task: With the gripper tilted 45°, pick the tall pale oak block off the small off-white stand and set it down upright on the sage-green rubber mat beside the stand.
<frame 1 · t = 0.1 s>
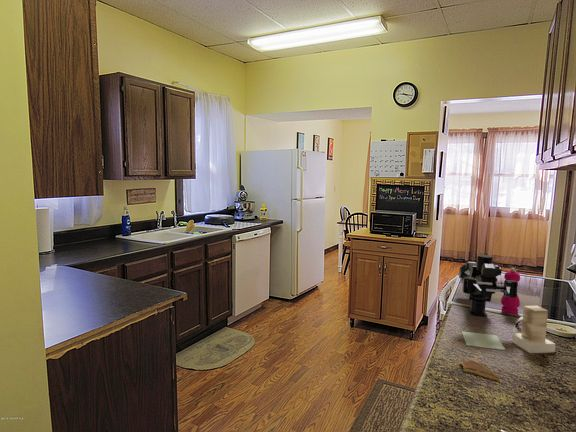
hand: (494, 293, 137), 17 cm above the countertop, tool horizontal, fingers open, 9 cm apart
oak block: (533, 338, 131), point 3 cm above the countertop, touching stand
mat: (482, 340, 136), on the countertop
pepper mill: (509, 312, 165), on the countertop
shard: (480, 372, 115), on the countertop
stand: (532, 346, 131), on the countertop
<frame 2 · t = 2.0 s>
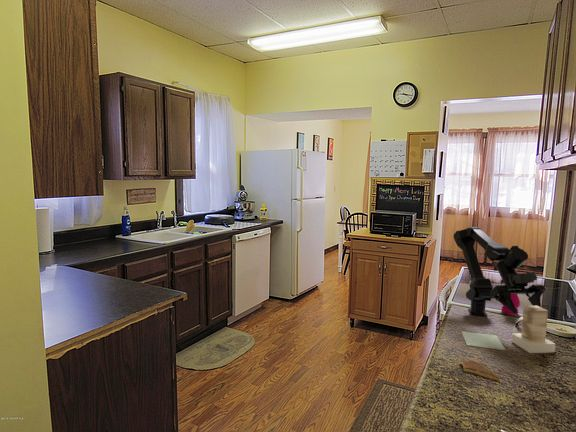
hand: (528, 313, 133), 11 cm above the countertop, tool tilted 45°, fingers open, 9 cm apart
nothing on the countertop moved.
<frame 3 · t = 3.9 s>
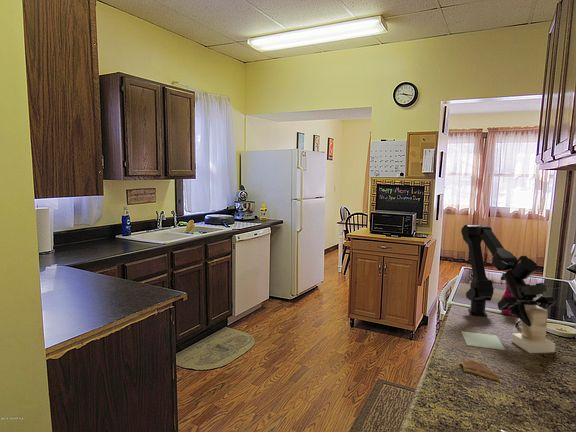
hand: (537, 325, 129), 8 cm above the countertop, tool tilted 45°, fingers closed on oak block, 5 cm apart
oak block: (533, 338, 131), point 3 cm above the countertop, touching gripper, stand
everything else where it was.
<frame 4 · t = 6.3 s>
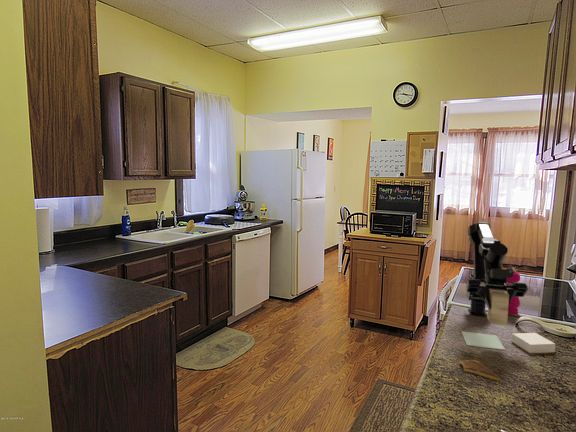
hand: (498, 309, 129), 13 cm above the countertop, tool tilted 45°, fingers closed on oak block, 5 cm apart
oak block: (496, 322, 131), point 8 cm above the countertop, touching gripper
everything else where it was.
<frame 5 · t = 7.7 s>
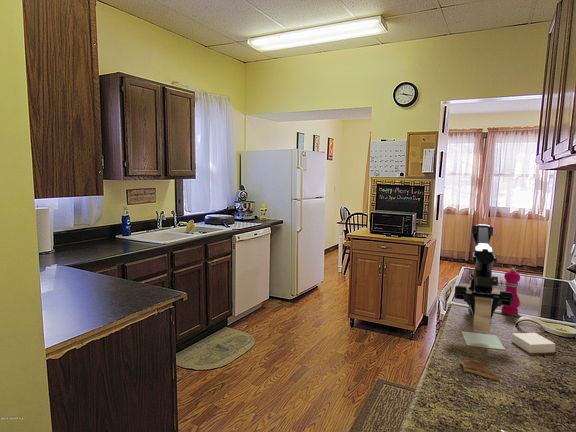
hand: (482, 316, 132), 10 cm above the countertop, tool tilted 45°, fingers closed on oak block, 5 cm apart
oak block: (481, 329, 133), point 5 cm above the countertop, touching gripper
everything else where it was.
when the fingers open (7 cm above the countertop, at t = 8.8 s): oak block drops 1 cm, resting on mat.
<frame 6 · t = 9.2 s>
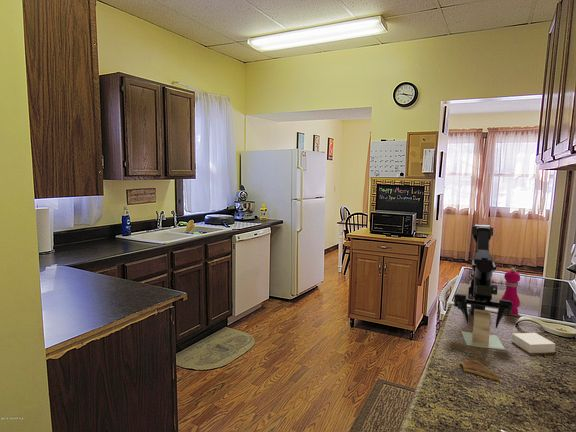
hand: (481, 325, 132), 7 cm above the countertop, tool tilted 45°, fingers open, 9 cm apart
oak block: (480, 341, 134), resting on mat
everything else where it was.
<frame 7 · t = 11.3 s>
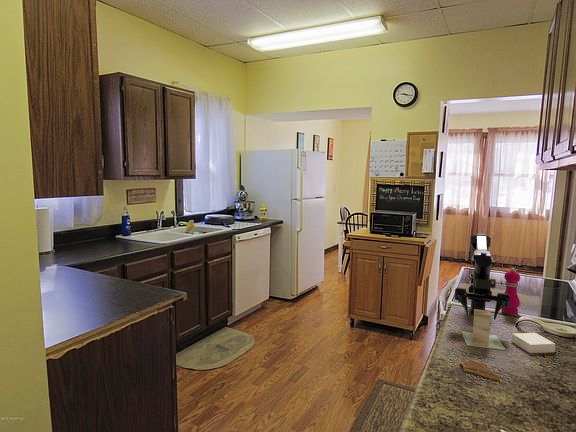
hand: (480, 317, 140), 7 cm above the countertop, tool tilted 45°, fingers open, 9 cm apart
nothing on the countertop moved.
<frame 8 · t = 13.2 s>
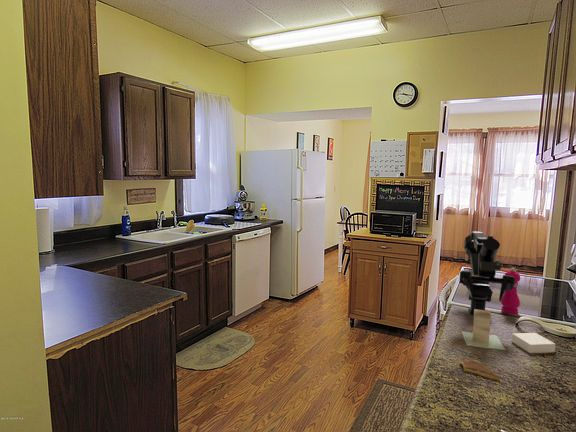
hand: (485, 299, 140), 14 cm above the countertop, tool tilted 45°, fingers open, 9 cm apart
nothing on the countertop moved.
at the end: oak block inside the target area on the mat (2.2 cm from its centre), point 0.3 cm above the mat's base; oak block tilted 0°; the gripper is holding nothing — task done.
